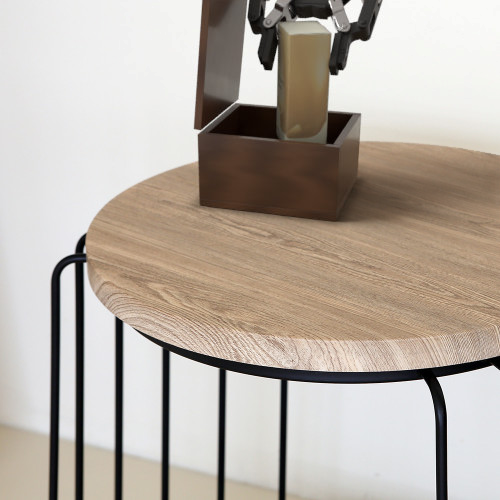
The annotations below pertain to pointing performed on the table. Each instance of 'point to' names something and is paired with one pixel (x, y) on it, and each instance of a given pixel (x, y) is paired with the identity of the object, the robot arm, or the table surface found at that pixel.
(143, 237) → the table surface
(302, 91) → the cosmetic box
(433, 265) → the table surface
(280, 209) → the chest
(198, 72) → the lid
